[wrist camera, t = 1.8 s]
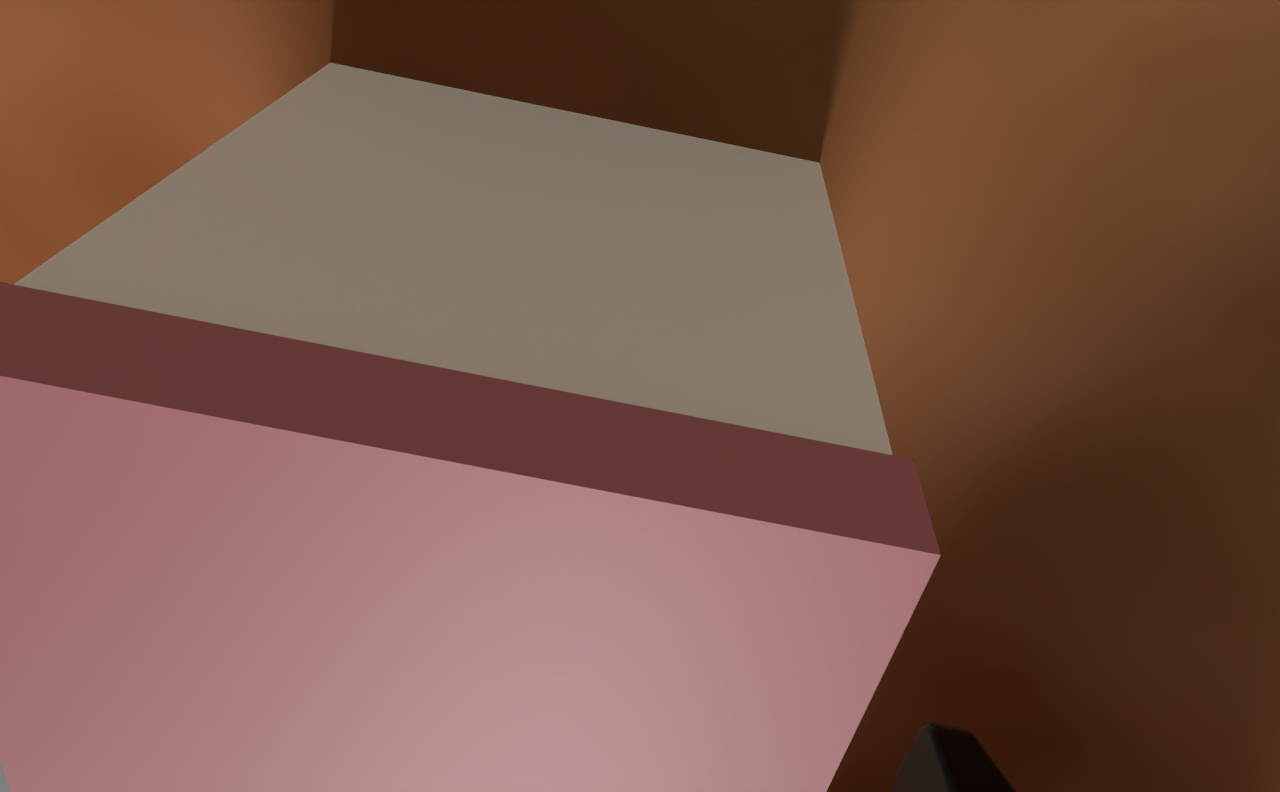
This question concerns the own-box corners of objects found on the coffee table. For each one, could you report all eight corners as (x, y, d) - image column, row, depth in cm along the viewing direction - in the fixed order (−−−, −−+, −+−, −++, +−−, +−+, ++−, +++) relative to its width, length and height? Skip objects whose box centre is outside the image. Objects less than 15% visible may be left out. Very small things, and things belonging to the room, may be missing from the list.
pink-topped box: (828, 155, 12) (939, 554, 6) (713, 541, 16) (705, 1042, 10) (323, 52, 12) (-128, 350, 6) (325, 467, 16) (54, 930, 9)
